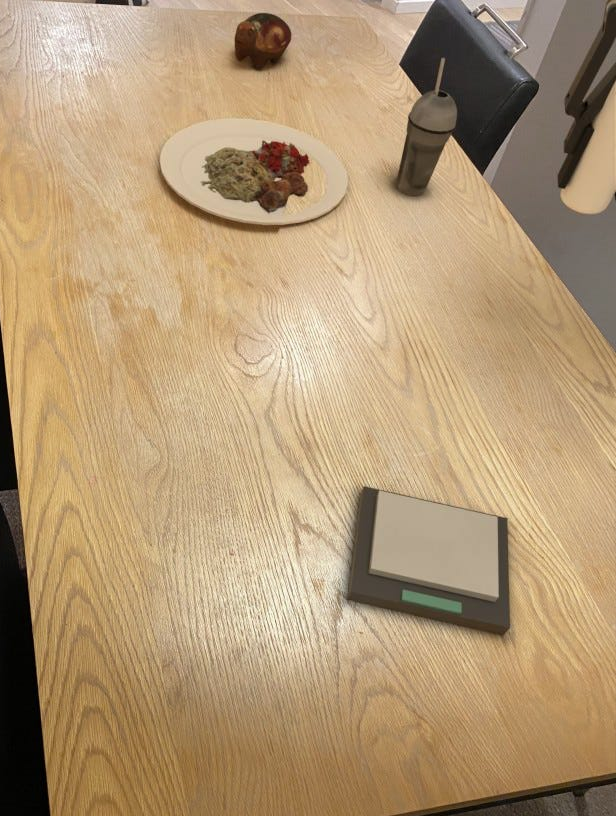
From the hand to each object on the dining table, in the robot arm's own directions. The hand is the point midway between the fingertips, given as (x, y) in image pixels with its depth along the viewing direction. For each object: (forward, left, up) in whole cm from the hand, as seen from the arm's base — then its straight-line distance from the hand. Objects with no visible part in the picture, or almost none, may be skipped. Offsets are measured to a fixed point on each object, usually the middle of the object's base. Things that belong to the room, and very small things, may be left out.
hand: (589, 188), depth 85 cm
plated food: (+40, -29, -23) cm, 55 cm away
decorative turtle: (+46, -70, -23) cm, 87 cm away
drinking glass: (0, 0, -2) cm, 2 cm away
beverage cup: (+15, -34, -23) cm, 44 cm away
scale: (+9, +39, -23) cm, 46 cm away
